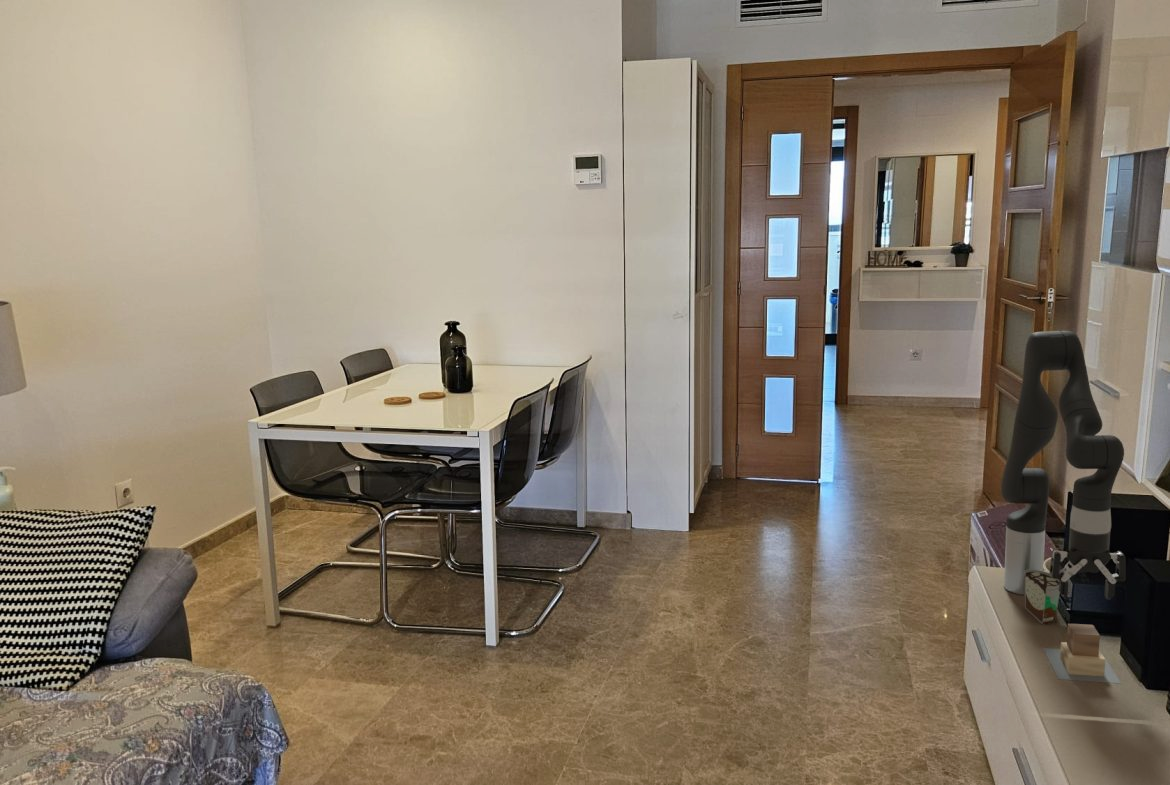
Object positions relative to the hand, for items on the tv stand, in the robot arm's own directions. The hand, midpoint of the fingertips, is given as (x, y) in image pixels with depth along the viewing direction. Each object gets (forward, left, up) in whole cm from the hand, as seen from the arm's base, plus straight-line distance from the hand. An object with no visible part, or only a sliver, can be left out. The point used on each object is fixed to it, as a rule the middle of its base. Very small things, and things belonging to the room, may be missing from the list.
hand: (1085, 597), depth 194 cm
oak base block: (0, 0, -17) cm, 17 cm away
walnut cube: (0, 0, -13) cm, 13 cm away
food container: (-27, -1, -17) cm, 32 cm away
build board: (-1, 0, -17) cm, 17 cm away
